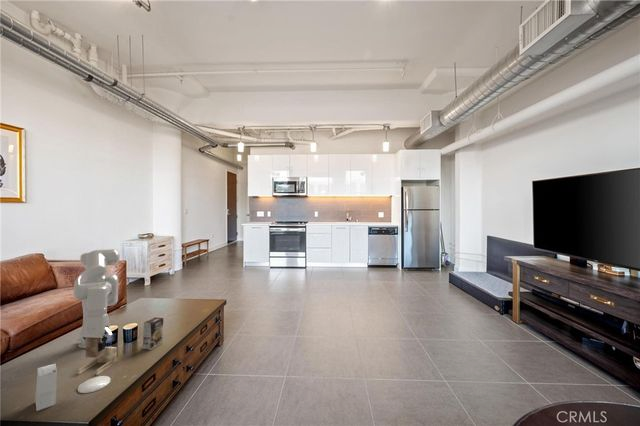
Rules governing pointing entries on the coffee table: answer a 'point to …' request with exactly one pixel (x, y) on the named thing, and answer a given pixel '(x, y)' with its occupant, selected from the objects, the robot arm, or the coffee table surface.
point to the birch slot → (102, 360)
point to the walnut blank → (93, 347)
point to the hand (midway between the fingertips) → (95, 349)
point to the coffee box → (153, 333)
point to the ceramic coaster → (94, 384)
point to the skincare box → (46, 386)
